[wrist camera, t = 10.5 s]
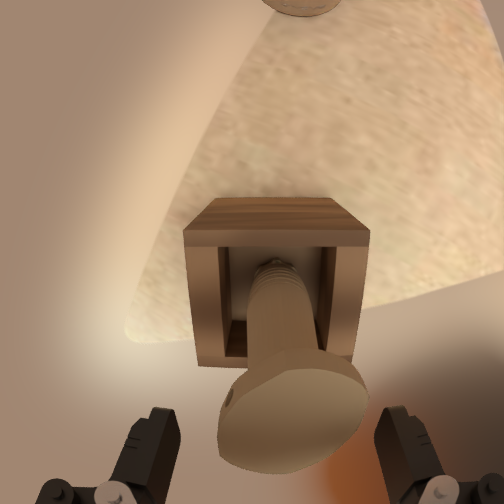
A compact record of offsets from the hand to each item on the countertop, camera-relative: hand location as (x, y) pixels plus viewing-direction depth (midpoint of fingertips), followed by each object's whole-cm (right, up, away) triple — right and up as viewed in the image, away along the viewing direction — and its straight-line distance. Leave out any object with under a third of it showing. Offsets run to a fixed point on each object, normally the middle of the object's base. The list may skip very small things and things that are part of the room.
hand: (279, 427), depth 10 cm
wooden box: (+1, +7, +20) cm, 22 cm away
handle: (+1, +5, +14) cm, 15 cm away
